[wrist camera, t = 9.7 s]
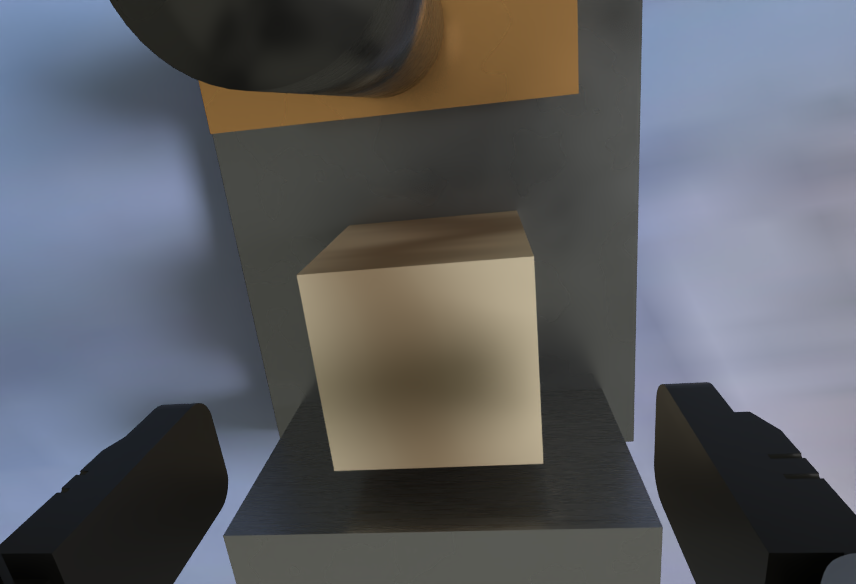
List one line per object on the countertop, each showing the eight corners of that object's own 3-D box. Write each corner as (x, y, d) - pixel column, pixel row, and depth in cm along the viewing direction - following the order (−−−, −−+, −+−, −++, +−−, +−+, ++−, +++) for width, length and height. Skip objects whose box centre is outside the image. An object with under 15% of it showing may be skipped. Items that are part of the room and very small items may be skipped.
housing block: (517, 210, 16) (534, 256, 11) (525, 365, 17) (543, 463, 13) (348, 225, 16) (296, 275, 12) (372, 374, 18) (334, 471, 13)
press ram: (541, -31, 13) (755, -479, 3) (545, 96, 14) (720, 79, 4) (272, 6, 14) (-271, -252, 4) (293, 124, 15) (-100, 169, 5)
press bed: (627, -29, 15) (764, -150, 8) (622, 416, 19) (706, 598, 12) (212, 26, 16) (6, -33, 9) (297, 430, 21) (202, 600, 14)
